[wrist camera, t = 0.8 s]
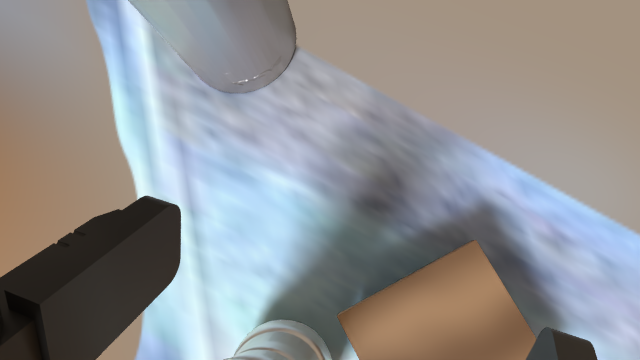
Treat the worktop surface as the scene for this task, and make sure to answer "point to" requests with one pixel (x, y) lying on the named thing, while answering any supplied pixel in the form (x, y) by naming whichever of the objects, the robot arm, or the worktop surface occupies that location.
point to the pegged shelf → (441, 315)
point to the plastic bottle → (282, 343)
